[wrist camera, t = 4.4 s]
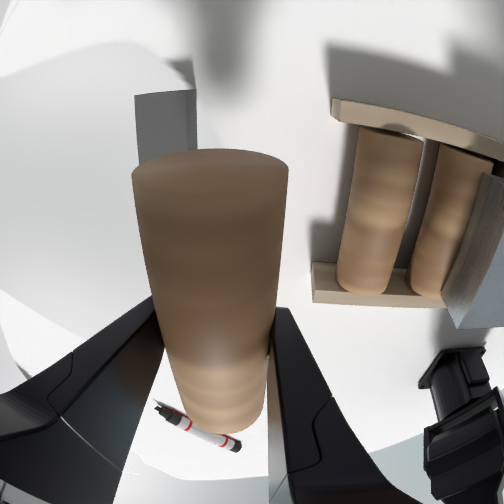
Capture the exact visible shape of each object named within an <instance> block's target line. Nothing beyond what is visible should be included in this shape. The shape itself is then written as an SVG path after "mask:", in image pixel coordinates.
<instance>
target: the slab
mask: <svg viewBox="0 0 504 504" xmlns="http://www.w3.org/2000/svg"><path fill="white" fill-rule="evenodd" d="M440 296H441V298H442V300H443V302H444V304H445V306H446V308H447V310H448V312H449V314H450V316H451V318H452V320H453V322H454V324H455V326H456V328H457V329H475V328H493V327H504V178H502V177H499V176H496V175H493V174H489V173H486V172H483V173H482V177H481V181H480V185H479V189H478V193H477V196H476V200H475V203H474V207H473V210H472V213H471V217H470V220H469V223H468V226H467V229H466V232H465V235H464V238H463V240H462V243H461V246H460V248H459V251H458V254H457V256H456V259H455V261H454V264H453V266H452V269H451V271H450V274H449V276H448V278H447V281H446V283H445V285H444V287H443V290H442V292H441V294H440Z"/></svg>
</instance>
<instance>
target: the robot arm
mask: <svg viewBox="0 0 504 504" xmlns="http://www.w3.org/2000/svg"><path fill="white" fill-rule="evenodd" d="M164 349H165V345H164V341H163V337H162V334H161V330H160V326H159V322H158V318H157V314H156V310H155V306H154V302H153V297H152V295H151V296H150V297H148V298H147V299H145V300H144V301H142V302H141V303H140V304H138V305H137V306H135V307H134V308H132V309H131V310H130V311H128V312H127V313H125V314H124V315H122V316H121V317H119V318H118V319H117V320H115V321H114V322H112V323H111V324H109V325H108V326H107V327H105V328H104V329H102V330H101V331H100V332H98V333H97V334H95V335H94V336H93V337H91V338H90V339H88V340H87V341H86V342H84V343H83V344H81V345H80V346H79V347H77V348H76V349H74V350H73V352H70V353H69V354H67V355H66V356H65V357H63V358H62V359H60V360H59V361H57V362H56V363H54V364H53V365H52V366H50V367H48V368H47V369H45V370H44V371H42V372H40V373H39V374H37V375H35V376H34V377H32V378H30V379H29V380H27V381H25V382H24V383H22V384H20V385H19V386H17V387H15V388H14V389H12V390H10V391H8V392H6V393H3V394H0V504H113V501H114V497H115V494H116V491H117V488H118V484H119V481H120V478H121V475H122V471H123V468H124V465H125V462H126V459H127V456H128V453H129V450H130V447H131V444H132V441H133V438H134V435H135V432H136V429H137V427H138V424H139V421H140V418H141V415H142V412H143V410H144V407H145V404H146V401H147V398H148V396H149V393H150V390H151V388H152V385H153V382H154V379H155V377H156V374H157V371H158V369H159V366H160V363H161V360H162V356H163V353H164ZM485 352H486V350H485V347H477V348H466V349H452V350H444V351H442V352H441V353H440V354H439V356H438V357H437V359H436V360H435V362H434V363H433V365H432V366H431V367H430V369H429V370H428V372H427V373H426V374H425V376H424V377H423V379H422V380H421V381H420V383H419V384H418V388H419V389H429V388H430V391H431V395H432V399H433V403H434V407H435V411H436V415H437V419H438V422H437V423H436V424H434V425H432V426H428V427H426V428H424V466H423V467H424V471H426V473H427V475H428V477H429V479H430V480H431V494H432V495H433V497H434V498H435V499H436V500H441V501H442V502H443V503H444V504H503V497H502V491H503V488H504V397H503V395H502V393H501V392H500V390H499V388H498V387H497V386H496V387H495V388H493V390H492V389H491V387H490V384H489V379H490V378H489V375H488V373H487V370H486V368H485V365H484V363H483V360H482V358H481V357H482V356H483V355H484V353H485ZM496 407H498V409H497V410H495V411H494V410H493V409H495V408H496ZM267 410H268V467H269V504H422V503H421V502H419V501H417V500H415V499H414V498H412V497H410V496H409V495H407V494H405V493H404V492H402V491H401V490H399V489H397V488H396V487H395V486H394V485H392V484H391V483H390V482H389V481H388V480H387V479H386V478H385V476H384V475H383V474H382V473H381V471H380V470H379V468H378V467H377V466H376V464H375V463H374V462H373V460H372V459H371V457H370V456H369V454H368V453H367V451H366V450H365V449H364V447H363V446H362V444H361V443H360V441H359V440H358V438H357V437H356V435H355V434H354V432H353V431H352V429H351V428H350V426H349V425H348V423H347V421H346V419H345V418H344V416H343V414H342V412H341V410H340V408H339V406H338V404H337V402H336V400H335V398H334V397H332V393H331V391H330V389H329V387H328V385H327V383H326V381H325V379H324V377H323V375H322V373H321V371H320V369H319V367H318V365H317V363H316V361H315V359H314V357H313V355H312V353H311V351H310V349H309V347H308V345H307V343H306V341H305V339H304V337H303V335H302V334H301V332H300V330H299V328H298V326H297V324H296V322H295V320H294V318H293V316H292V314H291V312H290V310H289V309H288V308H285V307H276V308H275V316H274V320H273V325H272V334H271V343H270V352H269V361H268V370H267Z"/></svg>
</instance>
